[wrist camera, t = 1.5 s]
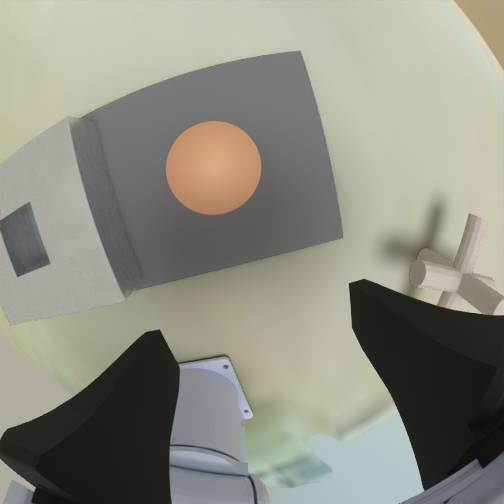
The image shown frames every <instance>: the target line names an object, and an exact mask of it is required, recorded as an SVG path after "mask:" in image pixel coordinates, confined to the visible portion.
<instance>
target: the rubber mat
mask: <svg viewBox="0 0 504 504" xmlns="http://www.w3.org/2000/svg"><path fill="white" fill-rule="evenodd" d="M79 119H84V120H89V121H94V122H97V123H98V128H99V133H100V137H101V142H102V146H103V150H104V154H105V158H106V162H107V166H108V170H109V174H110V177H111V181H112V185H113V188H114V191H115V195H116V198H117V201H118V205H119V208H120V211H121V214H122V217H123V220H124V223H125V226H126V229H127V232H128V235H129V238H130V240H131V243H132V246H133V249H134V251H135V254H136V257H137V259H138V262H139V264H140V267H141V270H142V272H143V275H144V276H143V277H142V278H141V280H140V281H139V283H138V284H137V285H136V287H135V288H134V290H138V289H142V288H146V287H150V286H154V285H159V284H163V283H167V282H171V281H175V280H179V279H183V278H187V277H191V276H195V275H199V274H203V273H207V272H211V271H215V270H219V269H223V268H227V267H231V266H235V265H239V264H243V263H247V262H251V261H255V260H259V259H263V258H267V257H271V256H275V255H279V254H282V253H286V252H290V251H294V250H298V249H302V248H306V247H310V246H314V245H317V244H321V243H325V242H329V241H333V240H337V239H340V238H343V232H342V225H341V218H340V212H339V206H338V200H337V194H336V188H335V183H334V178H333V173H332V168H331V163H330V158H329V153H328V149H327V144H326V140H325V136H324V131H323V127H322V123H321V119H320V115H319V112H318V108H317V104H316V100H315V97H314V93H313V90H312V86H311V83H310V80H309V76H308V73H307V70H306V67H305V63H304V60H303V57H302V54H301V51H293V52H285V53H277V54H270V55H263V56H257V57H252V58H246V59H241V60H236V61H232V62H227V63H223V64H219V65H215V66H211V67H207V68H203V69H199V70H196V71H193V72H189V73H186V74H183V75H179V76H176V77H173V78H170V79H167V80H165V81H162V82H159V83H156V84H153V85H151V86H148V87H146V88H143V89H141V90H138V91H136V92H133V93H131V94H129V95H126V96H124V97H122V98H119V99H117V100H115V101H113V102H111V103H109V104H107V105H104V106H102V107H100V108H98V109H96V110H94V111H93V112H91V113H89V114H87V115H85V116H83V117H81V118H79ZM208 121H221V122H226V123H229V124H232V125H234V126H237V127H238V128H240V129H242V130H243V131H244V132H245V133H247V134H248V135H249V137H250V138H251V139H252V140H253V142H254V143H255V145H256V147H257V149H258V152H259V155H260V159H261V175H260V180H259V183H258V185H257V187H256V189H255V191H254V193H253V194H252V196H251V197H250V198H249V199H248V200H247V201H246V202H245V203H244V204H243V205H241V206H240V207H238V208H237V209H235V210H233V211H230V212H227V213H224V214H218V215H207V214H201V213H198V212H195V211H193V210H191V209H189V208H187V207H186V206H184V205H183V204H182V203H181V202H180V201H179V200H178V199H177V198H176V197H175V195H174V194H173V193H172V191H171V189H170V187H169V184H168V181H167V176H166V162H167V157H168V154H169V151H170V149H171V147H172V145H173V144H174V142H175V141H176V139H177V138H178V137H179V136H180V135H181V134H182V133H183V132H184V131H186V130H187V129H189V128H190V127H192V126H194V125H197V124H200V123H203V122H208ZM28 214H29V218H30V221H31V224H32V227H33V230H34V233H35V236H36V239H37V242H38V245H39V247H40V250H41V253H42V255H43V258H44V259H45V258H47V257H48V255H47V252H46V250H45V247H44V244H43V241H42V239H41V236H40V233H39V230H38V227H37V224H36V220H35V217H34V214H33V210H32V208H31V209H29V210H28ZM134 290H133V291H134Z"/></svg>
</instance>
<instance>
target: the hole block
mask: <svg viewBox="0 0 504 504" xmlns="http://www.w3.org/2000/svg"><path fill="white" fill-rule="evenodd" d="M31 208H32V210H33V214H34V217H35V220H36V224H37V227H38V230H39V233H40V236H41V239H42V241H43V244H44V247H45V250H46V252H47V255H48V257H47V258H45V259H44V258H43V255H42V253H41V250H40V247H39V245H38V242H37V239H36V236H35V233H34V230H33V227H32V224H31V221H30V218H29V214H28V210H29V209H31ZM143 276H144V275H143V272H142V270H141V267H140V264H139V262H138V259H137V257H136V254H135V251H134V249H133V246H132V243H131V240H130V238H129V235H128V232H127V229H126V226H125V223H124V220H123V217H122V214H121V211H120V208H119V205H118V201H117V198H116V195H115V191H114V188H113V185H112V181H111V177H110V174H109V170H108V166H107V162H106V158H105V154H104V150H103V146H102V142H101V137H100V133H99V128H98V123H97V122H94V121H89V120H84V119H79V118H74V117H66V118H64V119H63V120H61V121H60V122H58V123H56V124H55V125H53V126H52V127H50V128H49V129H47V130H46V131H44V132H43V133H41V134H40V135H38V136H37V137H35V138H34V139H33V140H31V141H30V142H28V143H27V144H26V145H24V146H23V147H22V148H20V149H19V150H18V151H16V152H15V153H14V154H13V155H11V156H10V157H9V158H8V159H6V160H5V161H4V162H3V163H2V164H1V165H0V306H1V308H2V310H3V312H4V314H5V316H6V318H7V320H8V322H9V324H10V325H14V324H20V323H25V322H30V321H35V320H40V319H44V318H49V317H54V316H59V315H64V314H69V313H73V312H78V311H83V310H87V309H92V308H96V307H101V306H106V305H110V304H115V303H119V302H124V301H126V300H127V298H128V297H129V296H130V294H131V293H132V291H133V290H134V288H135V287H136V285H137V284H138V283H139V281H140V280H141V278H142V277H143Z"/></svg>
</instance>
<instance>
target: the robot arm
mask: <svg viewBox="0 0 504 504" xmlns="http://www.w3.org/2000/svg"><path fill="white" fill-rule="evenodd" d="M349 291H350V303H351V318H352V328H353V331H354V333H355V335H356V337H357V339H358V341H359V344H360V346H361V348H362V349H363V351H364V353H365V354H366V356H367V357H368V359H369V360H370V362H371V364H372V365H373V367H374V368H375V370H376V371H377V373H378V375H379V376H380V378H381V379H382V381H383V382H384V384H385V386H386V387H387V389H388V391H389V392H390V394H391V396H392V398H393V400H394V402H395V405H396V407H397V409H398V411H399V414H400V416H401V418H402V421H403V423H404V426H405V428H406V431H407V434H408V436H409V439H410V442H411V445H412V448H413V451H414V454H415V458H416V461H417V465H418V469H419V472H420V476H421V481H422V485H423V488H424V490H425V491H424V492H422V493H420V494H418V495H417V496H414V497H412V498H410V499H408V500H406V501H404V502H402V503H399V504H442V503H443V504H504V315H485V314H477V313H469V312H463V311H457V310H453V309H449V308H444V307H440V306H436V305H433V304H430V303H427V302H424V301H421V300H417V299H415V298H412V297H409V296H407V295H404V294H401V293H399V292H396V291H394V290H391V289H389V288H386V287H384V286H382V285H379V284H377V283H374V282H371V281H369V280H366V279H362V280H359V281H355V282H352V283H349ZM224 365H228V366H224ZM252 417H253V412H252V410H251V408H250V406H249V403H248V401H247V399H246V397H245V394H244V392H243V390H242V387H241V385H240V383H239V381H238V378H237V376H236V373H235V371H234V369H233V366H232V364H231V362H230V359H229V358H228V357H218V358H212V359H207V360H201V361H195V362H189V363H182V364H178V363H177V361H176V360H175V358H174V356H173V354H172V352H171V350H170V348H169V347H168V345H167V343H166V341H165V339H164V337H163V335H162V333H161V331H160V330H154V331H149V332H146V333H144V334H143V335H142V336H141V337H139V338H138V339H137V340H136V341H135V342H134V343H133V344H132V345H131V346H130V347H129V348H128V349H127V350H126V351H125V352H124V353H123V354H122V355H121V356H120V357H119V358H118V359H117V360H116V361H115V362H114V363H113V364H112V365H111V366H109V367H108V368H107V369H106V370H105V371H104V372H103V373H102V374H101V375H100V376H99V377H98V378H97V379H95V380H94V381H93V382H92V383H91V384H90V385H88V386H87V387H86V388H85V389H83V390H82V391H81V392H79V393H78V394H77V395H75V396H74V397H73V398H71V399H69V400H68V401H66V402H65V403H63V404H62V405H60V406H58V407H57V408H55V409H53V410H52V411H50V412H48V413H46V414H44V415H42V416H40V417H38V418H36V419H34V420H32V421H29V422H26V423H23V424H21V425H18V426H15V427H12V428H9V429H7V430H6V431H5V432H4V434H3V436H2V437H1V439H0V459H1V460H2V461H3V462H4V463H5V464H7V465H8V466H9V467H10V468H11V469H12V470H14V471H15V472H16V473H17V474H19V475H20V476H21V477H23V478H24V479H25V480H26V481H28V482H29V483H30V484H32V485H33V486H35V487H36V489H35V492H33V491H31V490H30V489H28V488H26V487H24V486H23V485H21V484H19V483H17V482H15V481H13V480H12V481H11V483H10V486H9V489H8V491H7V494H6V497H5V499H4V502H3V504H269V497H268V492H267V489H266V487H265V485H264V483H263V482H262V481H261V480H260V478H259V477H258V476H257V475H255V474H248V463H247V455H246V439H245V421H244V419H249V418H252Z"/></svg>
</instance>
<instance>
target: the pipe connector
mask: <svg viewBox="0 0 504 504" xmlns="http://www.w3.org/2000/svg"><path fill="white" fill-rule="evenodd" d="M487 225H488V222H487V221H486V220H484V219H482V218H479V217H477V216H474V215H472V214H469V215H468V219H467V222H466V226H465V230H464V233H463V236H462V240H461V243H460V246H459V249H458V252H457V255H456V258H455V261H454V263H452V262H450V261H449V260H447V259H445V258H444V257H442V256H440V255H439V254H437V253H435V252H433V251H432V250H430V249H428V248H424V249H422V250H421V251H420V252H419V253H418V256H417V260H416V261H414V262H413V264H412V265H411V267H410V271H409V281H410V283H411V284H412V286H416V287H421V288H428V289H434V290H441V291H443V292H442V295H441V297H440V299H439V301H438V304H437V306H440V307H444V308H449V309H453V310H457V308H458V306H459V304H460V302H461V299H462V298H463V299H465V300H466V301H467V302H469V303H470V304H471V305H472V306H474V307H475V308H476V309H477V310H479V311H480V312H481V313H482V314H485V315H504V296H503V295H501V294H500V293H498V292H497V291H495V290H494V289H495V283H494V280H493V279H492V278H491V277H487V276H483V275H479V274H476V273H472V272H473V269H474V267H475V264H476V261H477V258H478V255H479V252H480V249H481V246H482V243H483V239H484V236H485V232H486V229H487Z"/></svg>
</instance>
